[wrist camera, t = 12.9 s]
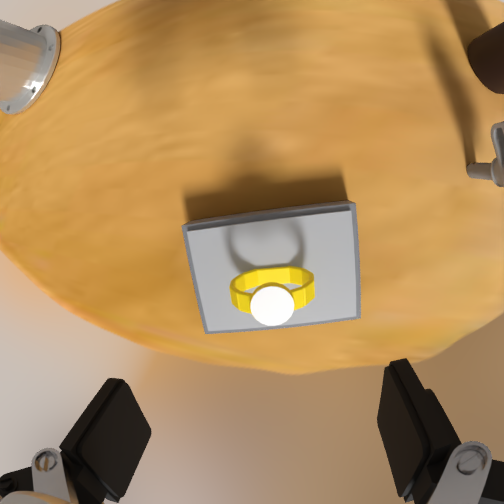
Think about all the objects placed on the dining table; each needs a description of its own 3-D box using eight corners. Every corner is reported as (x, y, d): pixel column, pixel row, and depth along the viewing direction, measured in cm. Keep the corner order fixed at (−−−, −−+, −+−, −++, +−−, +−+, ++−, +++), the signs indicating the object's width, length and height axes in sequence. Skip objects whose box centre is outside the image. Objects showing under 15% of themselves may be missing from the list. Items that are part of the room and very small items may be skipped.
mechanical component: (466, 118, 21) (530, 104, 11) (491, 214, 23) (555, 234, 13) (446, 124, 21) (511, 109, 12) (473, 223, 23) (537, 247, 14)
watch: (307, 254, 23) (322, 279, 17) (309, 287, 24) (323, 320, 18) (231, 262, 23) (223, 290, 18) (236, 294, 24) (229, 330, 18)
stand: (211, 320, 28) (204, 336, 26) (190, 220, 26) (180, 226, 23) (354, 305, 27) (361, 320, 24) (348, 200, 24) (356, 203, 21)
